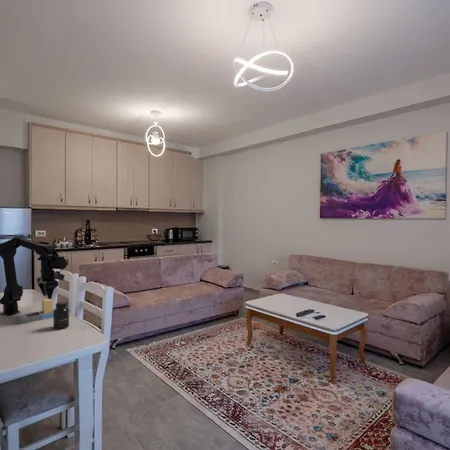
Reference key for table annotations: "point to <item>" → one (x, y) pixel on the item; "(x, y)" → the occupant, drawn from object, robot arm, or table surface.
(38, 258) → the robot arm
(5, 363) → the table surface
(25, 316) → the duct block
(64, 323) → the supplement bottle
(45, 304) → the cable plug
